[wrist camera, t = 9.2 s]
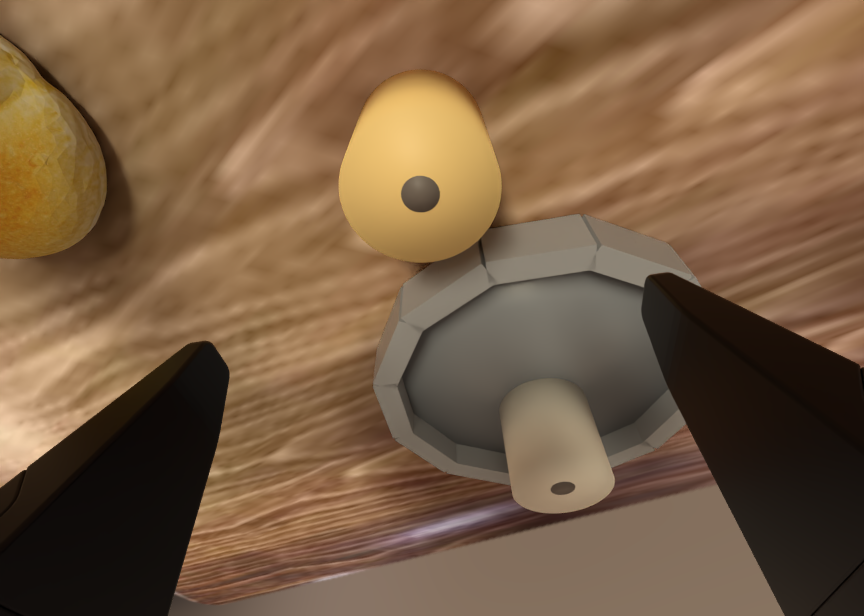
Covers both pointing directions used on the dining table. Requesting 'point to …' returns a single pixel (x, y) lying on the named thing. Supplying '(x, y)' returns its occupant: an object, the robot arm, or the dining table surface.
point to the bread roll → (44, 164)
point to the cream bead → (553, 447)
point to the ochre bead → (420, 169)
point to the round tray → (526, 341)
